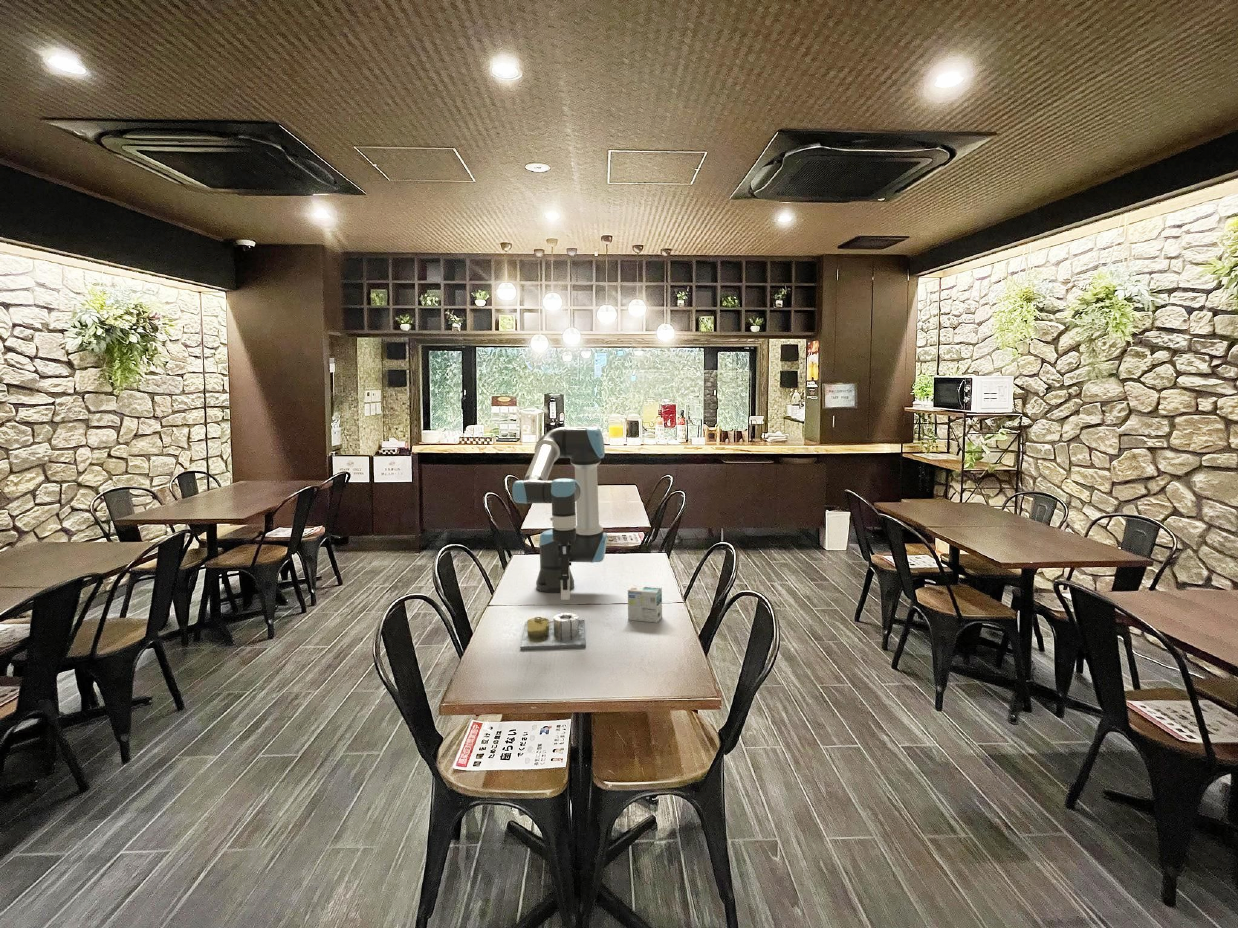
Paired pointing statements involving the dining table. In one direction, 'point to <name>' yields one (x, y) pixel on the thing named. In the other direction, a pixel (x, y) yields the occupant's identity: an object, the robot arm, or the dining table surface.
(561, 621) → the planet gear
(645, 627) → the dining table surface
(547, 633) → the carrier
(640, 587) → the light bulb box
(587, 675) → the dining table surface
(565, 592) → the robot arm
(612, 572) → the dining table surface
